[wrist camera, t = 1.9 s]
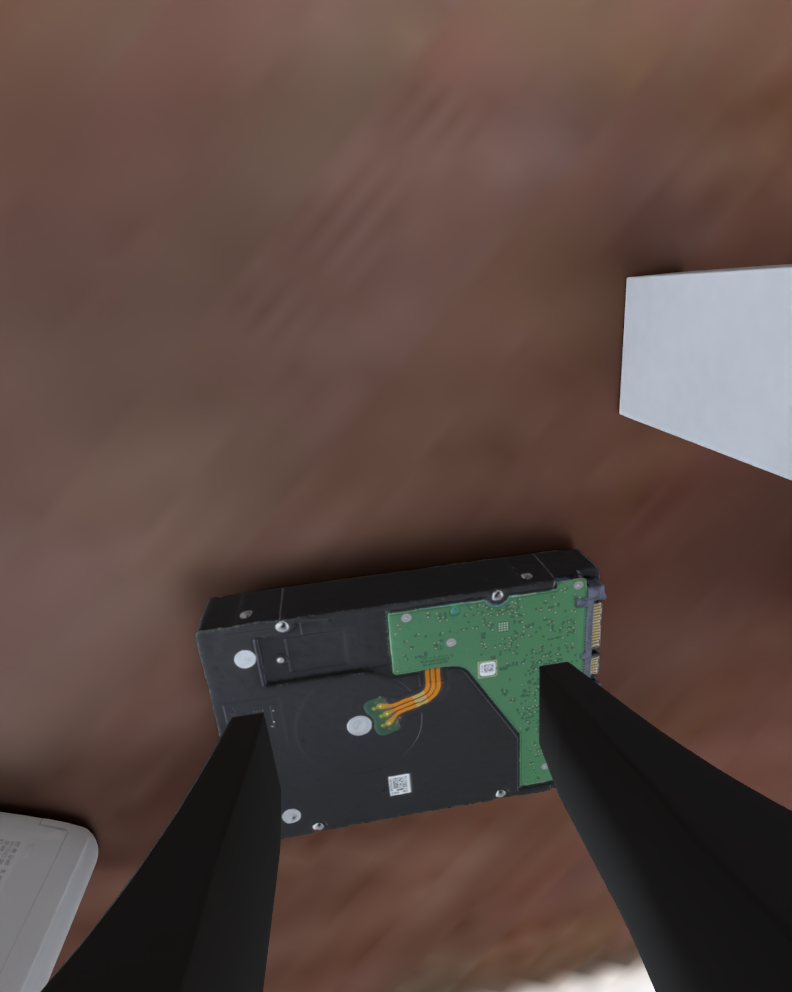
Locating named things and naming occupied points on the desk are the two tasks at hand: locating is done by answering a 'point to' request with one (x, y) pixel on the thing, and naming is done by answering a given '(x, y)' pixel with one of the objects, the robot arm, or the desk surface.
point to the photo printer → (39, 894)
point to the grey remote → (713, 360)
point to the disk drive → (403, 681)
